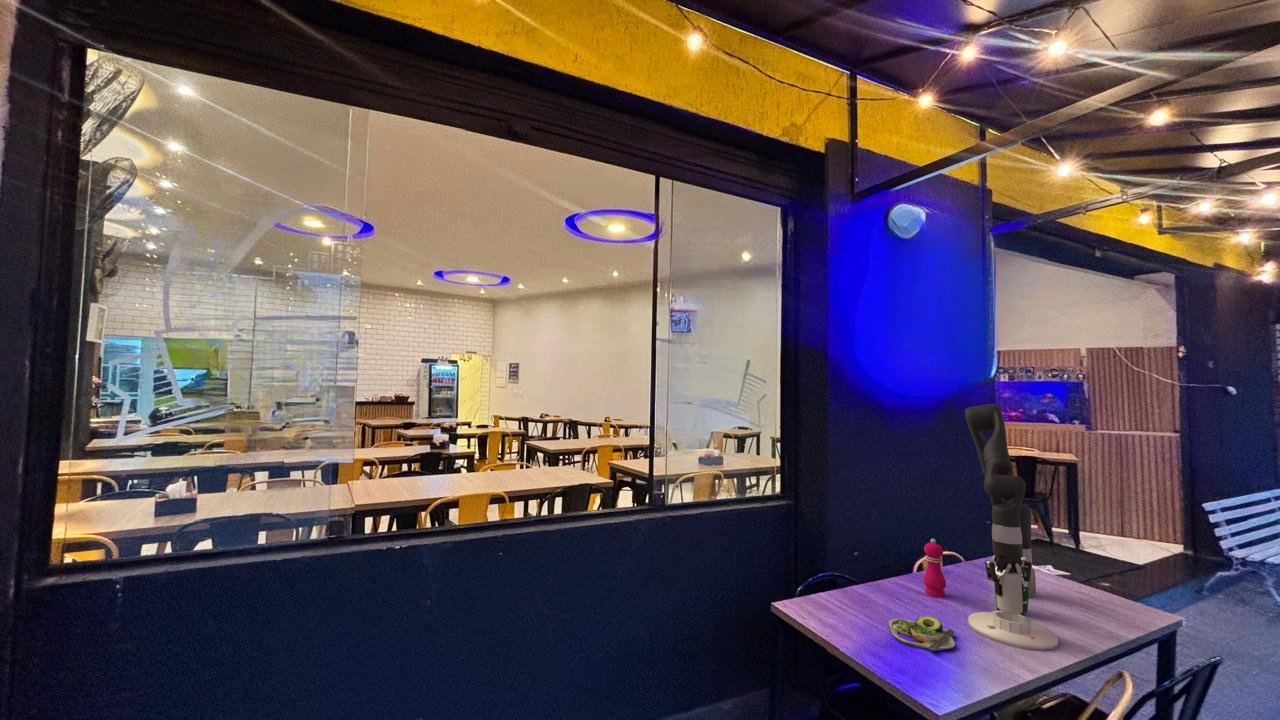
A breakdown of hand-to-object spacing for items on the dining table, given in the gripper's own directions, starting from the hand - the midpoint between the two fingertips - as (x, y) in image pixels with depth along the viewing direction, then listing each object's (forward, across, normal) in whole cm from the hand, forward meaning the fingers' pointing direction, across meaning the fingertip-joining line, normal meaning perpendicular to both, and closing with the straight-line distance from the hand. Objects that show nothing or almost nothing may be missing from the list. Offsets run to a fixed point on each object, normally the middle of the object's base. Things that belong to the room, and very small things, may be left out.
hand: (1009, 595), depth 152 cm
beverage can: (+5, 0, 0) cm, 5 cm away
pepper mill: (+11, +3, -30) cm, 32 cm away
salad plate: (+12, +30, +1) cm, 32 cm away
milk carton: (+11, -14, -15) cm, 23 cm away
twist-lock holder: (+11, 0, 0) cm, 11 cm away
